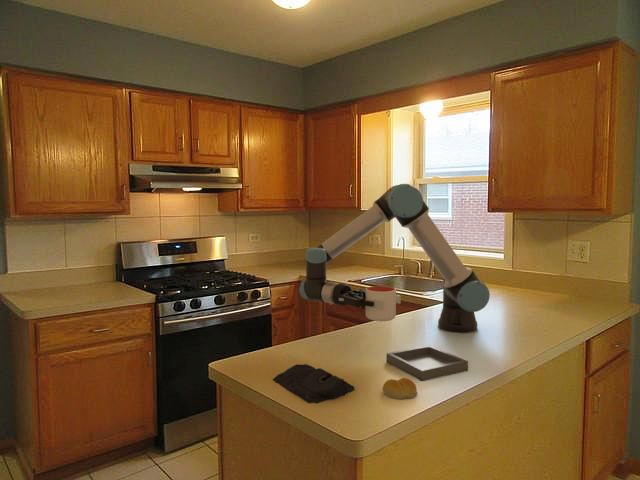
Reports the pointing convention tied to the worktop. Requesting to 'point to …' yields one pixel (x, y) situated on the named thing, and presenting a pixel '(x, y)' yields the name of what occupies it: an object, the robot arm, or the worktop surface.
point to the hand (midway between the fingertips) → (392, 302)
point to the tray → (426, 362)
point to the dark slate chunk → (312, 383)
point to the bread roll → (400, 389)
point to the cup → (389, 303)
